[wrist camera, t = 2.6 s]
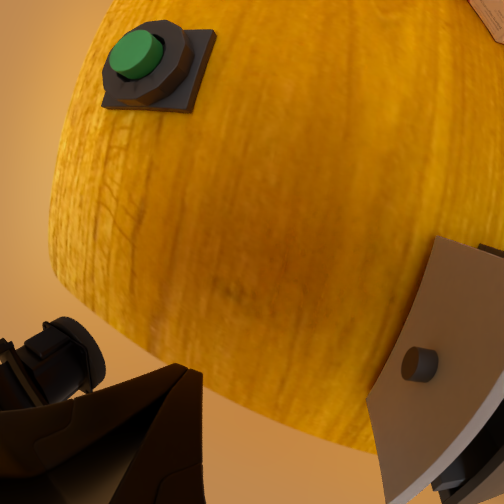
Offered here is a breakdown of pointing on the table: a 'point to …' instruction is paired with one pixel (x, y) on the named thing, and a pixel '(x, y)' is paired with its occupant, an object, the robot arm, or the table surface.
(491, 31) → the ink box
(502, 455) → the cabinet
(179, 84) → the control block
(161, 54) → the button
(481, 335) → the drawer
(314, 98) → the table surface
